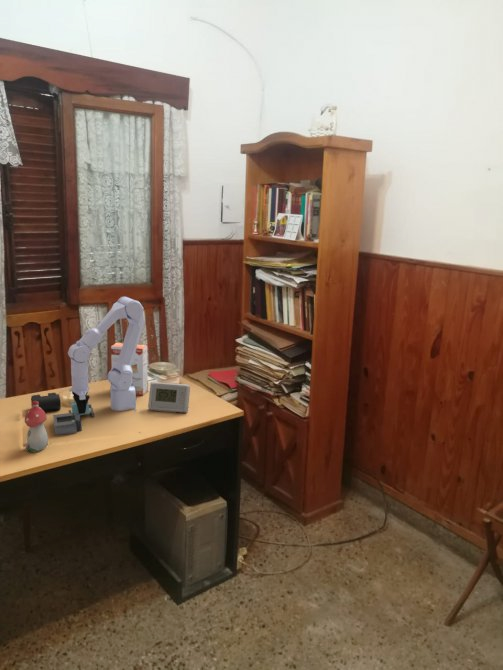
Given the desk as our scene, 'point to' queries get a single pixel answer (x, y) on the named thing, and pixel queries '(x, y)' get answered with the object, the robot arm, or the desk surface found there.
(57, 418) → the port block
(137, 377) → the cracker box
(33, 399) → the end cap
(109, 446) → the desk surface
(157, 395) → the digital clock
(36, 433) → the decorative ornament
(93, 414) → the holster
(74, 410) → the teal rectangular block
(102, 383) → the desk surface
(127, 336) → the robot arm
